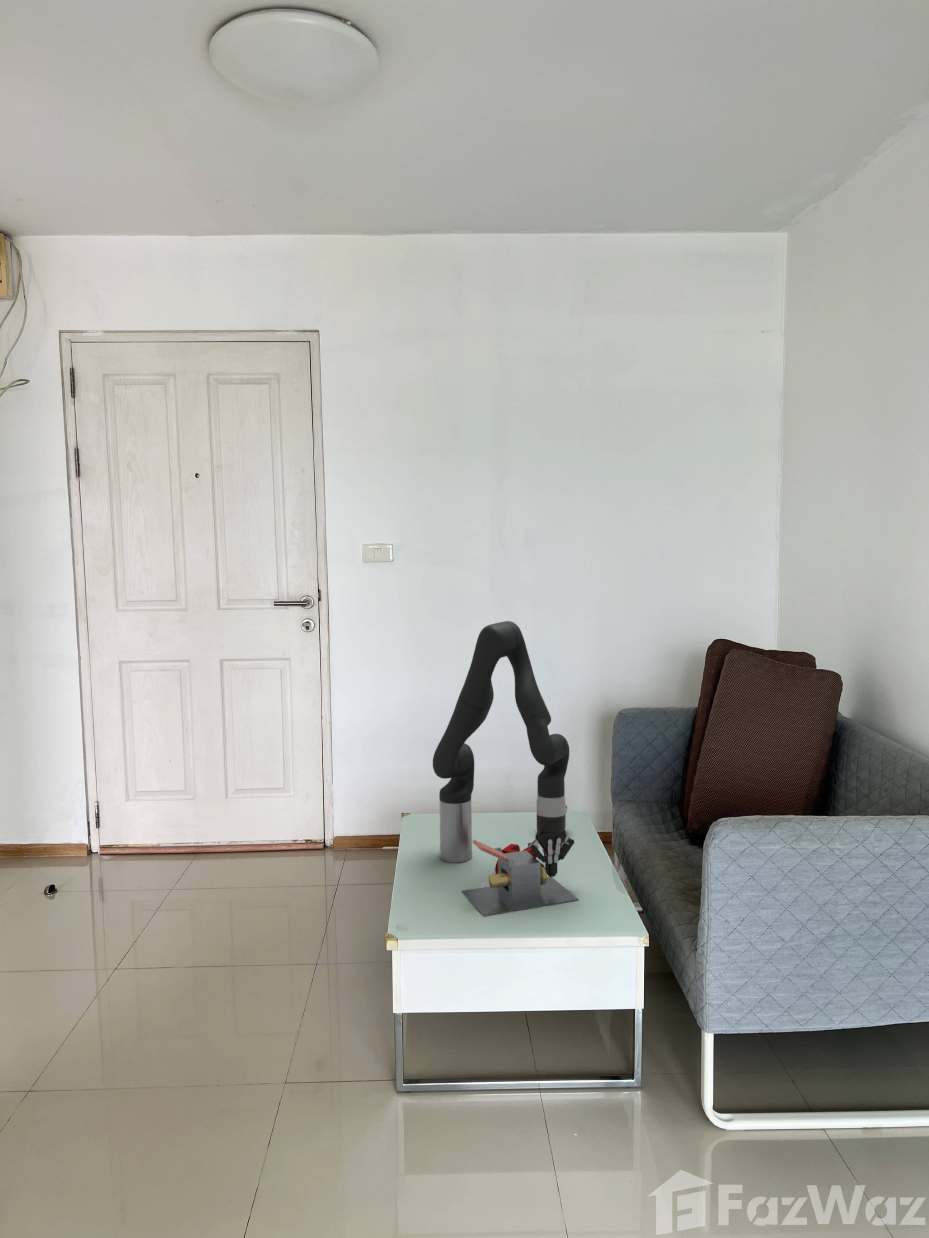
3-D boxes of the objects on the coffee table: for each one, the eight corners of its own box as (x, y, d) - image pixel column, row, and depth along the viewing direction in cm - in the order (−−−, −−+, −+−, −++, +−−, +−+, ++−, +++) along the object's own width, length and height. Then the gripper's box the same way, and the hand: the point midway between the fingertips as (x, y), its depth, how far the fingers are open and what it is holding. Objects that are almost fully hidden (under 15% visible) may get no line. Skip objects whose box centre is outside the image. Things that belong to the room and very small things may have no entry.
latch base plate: (461, 891, 227) (460, 848, 226) (551, 877, 236) (551, 835, 235) (483, 916, 212) (483, 869, 211) (578, 900, 221) (578, 855, 220)
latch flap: (471, 841, 222) (473, 838, 222) (499, 854, 225) (501, 851, 225) (481, 851, 215) (483, 847, 216) (510, 864, 219) (512, 860, 219)
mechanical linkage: (514, 858, 251) (514, 841, 251) (536, 862, 248) (536, 845, 247) (487, 876, 238) (487, 859, 237) (510, 881, 234) (510, 863, 234)
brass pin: (486, 888, 224) (486, 867, 223) (537, 880, 229) (537, 859, 228) (495, 896, 219) (494, 874, 218) (546, 887, 224) (546, 866, 223)
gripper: (567, 804, 231) (567, 867, 233) (521, 810, 227) (522, 874, 228) (580, 812, 224) (580, 877, 226) (534, 818, 220) (534, 884, 221)
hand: (551, 875), depth 227 cm, fingers closed
